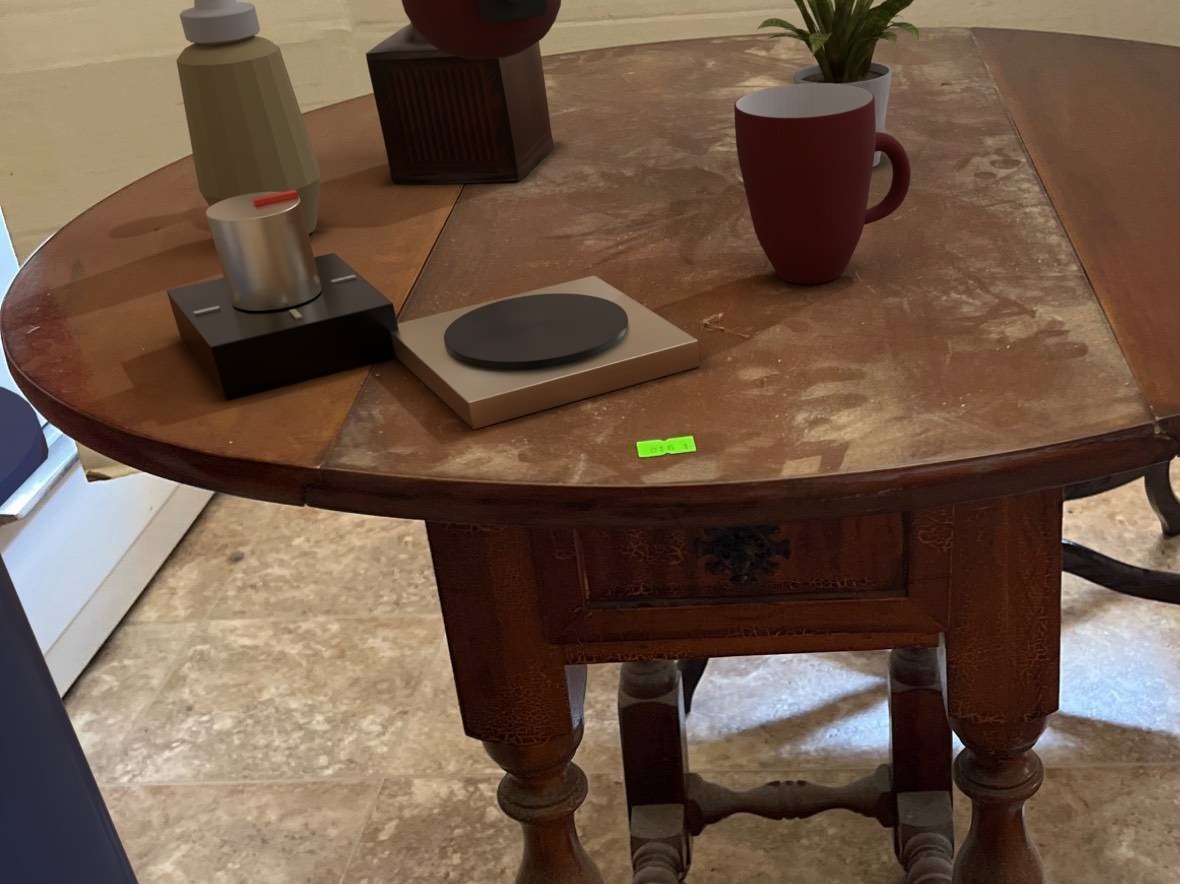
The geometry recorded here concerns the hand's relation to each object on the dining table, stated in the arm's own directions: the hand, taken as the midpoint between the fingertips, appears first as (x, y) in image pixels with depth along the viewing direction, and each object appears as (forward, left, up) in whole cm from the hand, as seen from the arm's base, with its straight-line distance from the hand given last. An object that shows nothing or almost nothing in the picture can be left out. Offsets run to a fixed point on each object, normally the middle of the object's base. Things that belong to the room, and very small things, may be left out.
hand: (481, 4), depth 72 cm
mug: (+20, 0, -18) cm, 26 cm away
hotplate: (0, -2, -17) cm, 18 cm away
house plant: (+32, +19, -18) cm, 41 cm away
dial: (-11, +9, -14) cm, 21 cm away
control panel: (-11, +9, -17) cm, 23 cm away
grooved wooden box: (+10, +40, -18) cm, 45 cm away
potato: (0, 0, -3) cm, 3 cm away
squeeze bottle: (-6, +31, -18) cm, 36 cm away
